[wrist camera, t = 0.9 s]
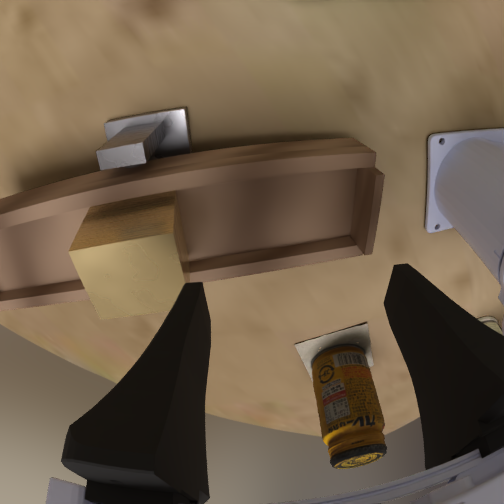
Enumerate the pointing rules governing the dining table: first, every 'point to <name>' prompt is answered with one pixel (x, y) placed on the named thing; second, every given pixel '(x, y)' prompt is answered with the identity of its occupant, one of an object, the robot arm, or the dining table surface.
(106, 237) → the wooden cube block
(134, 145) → the pivot stand
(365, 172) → the balance beam
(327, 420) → the condiment
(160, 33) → the dining table surface
